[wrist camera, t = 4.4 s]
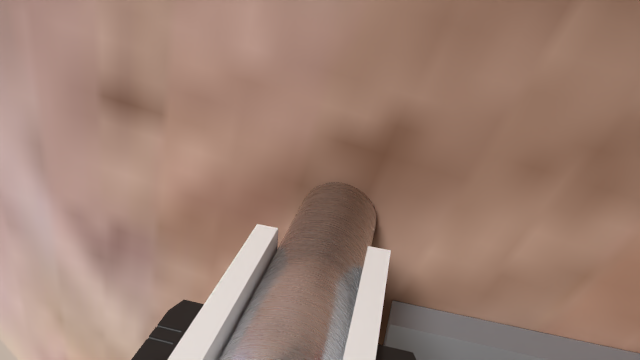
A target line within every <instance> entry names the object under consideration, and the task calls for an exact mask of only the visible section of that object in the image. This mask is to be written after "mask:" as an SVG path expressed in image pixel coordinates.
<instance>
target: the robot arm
mask: <svg viewBox="0 0 640 360" xmlns="http://www.w3.org/2000/svg"><path fill="white" fill-rule="evenodd" d="M277 245H278V228H275V227H270V226H264V225H259V224H257V225H256V227H255V228H254V230H253V231H252V233H251V234H250V236H249V237H248V239H247V240H246V242H245V243H244V245H243V246H242V248H241V249H240V251H239V252H238V254H237V255H236V257H235V258H234V260H233V261H232V263H231V264H230V266H229V267H228V269H227V270H226V272H225V273H224V275H223V277H222V278H221V280H220V281H219V283H218V284H217V286H216V287H215V289H214V290H213V292H212V293H211V295H210V296H209V298H208V299H207V301H206V302H205V304H200V303H196V302H192V301H187V300H183V301H181V302H180V303H179V304H177V305H176V306H174V307H173V308H171V309H170V310H168V312H167V313H166V314H165V316H164V317H163V318H162V320H161V321H160V322H159V324H158V326H157V328H155V329H154V330H153V332H152V333H151V334H150V336H149V338H148V339H147V340H146V341H145V342H144V344H143V345H142V346H141V348H140V349H139V350H138V352H137V353H136V354H135V356H134V357H133V358H132V360H219V358H220V356H221V354H222V353H223V351H224V349H225V347H226V345H227V343H228V341H229V339H230V338H231V336H232V334H233V332H234V330H235V328H236V326H237V324H238V323H239V321H240V319H241V317H242V315H243V313H244V311H245V309H246V308H247V306H248V304H249V302H250V300H251V298H252V296H253V294H254V293H255V291H256V289H257V287H258V285H259V283H260V281H261V280H262V278H263V276H264V274H265V272H266V270H267V268H268V266H269V265H270V263H271V261H272V259H273V257H274V255H275V253H276V251H277ZM390 253H391V250H386V249H381V248H376V247H371V246H368V248H367V253H366V257H365V262H364V266H363V271H362V275H361V280H360V284H359V289H358V293H357V298H356V302H355V307H354V311H353V316H352V320H351V325H350V329H349V334H348V338H347V343H346V347H345V352H344V356H343V360H416V358H415V356H414V353H413V352H409V351H405V350H401V349H396V348H392V347H388V346H384V345H379V344H378V338H379V331H380V324H381V317H382V310H383V303H384V295H385V288H386V281H387V274H388V267H389V260H390Z"/></svg>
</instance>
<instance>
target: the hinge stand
mask: <svg viewBox="0 0 640 360" xmlns="http://www.w3.org/2000/svg"><path fill="white" fill-rule="evenodd" d="M383 345H384V346H388V347H392V348H396V349H401V350H405V351H409V352H413V353H414V356H415V358H416V360H640V354H639V353H635V352H630V351H625V350H621V349H616V348H611V347H607V346H602V345H597V344H593V343H588V342H583V341H579V340H574V339H569V338H565V337H560V336H555V335H551V334H546V333H541V332H537V331H532V330H527V329H523V328H518V327H513V326H509V325H504V324H499V323H495V322H490V321H485V320H481V319H476V318H472V317H467V316H462V315H458V314H453V313H448V312H444V311H439V310H434V309H430V308H425V307H420V306H416V305H411V304H406V303H402V302H397V301H392V306H391V310H390V315H389V320H388V325H387V330H386V335H385V340H384V344H383Z"/></svg>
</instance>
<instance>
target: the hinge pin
mask: <svg viewBox="0 0 640 360" xmlns="http://www.w3.org/2000/svg"><path fill="white" fill-rule="evenodd" d="M375 226H376V213H375V209H374V207H373V205H372V203H371V201H370V200H369V198H368V197H367V196H366V195H365V194H364V193H362V192H361V191H360V190H358V189H357V188H355V187H353V186H350V185H347V184H343V183H326V184H322V185H320V186H317V187H316V188H314V189H313V190H311V191H310V192H309V193H308V194H307V196H306V197H305V199H304V201H303V203H302V205H301V206H300V208H299V210H298V212H297V214H296V216H295V218H294V220H293V221H292V223H291V225H290V227H289V229H288V231H287V233H286V235H285V236H284V238H283V240H282V242H281V244H280V246H279V248H278V250H277V251H276V253H275V255H274V257H273V259H272V261H271V263H270V265H269V266H268V268H267V270H266V272H265V274H264V276H263V278H262V280H261V281H260V283H259V285H258V287H257V289H256V291H255V293H254V294H253V296H252V298H251V300H250V302H249V304H248V306H247V308H246V309H245V311H244V313H243V315H242V317H241V319H240V321H239V323H238V324H237V326H236V328H235V330H234V332H233V334H232V336H231V338H230V339H229V341H228V343H227V345H226V347H225V349H224V351H223V353H222V354H221V356H220V358H219V360H343V356H344V352H345V347H346V343H347V338H348V334H349V329H350V325H351V320H352V316H353V311H354V307H355V302H356V298H357V293H358V289H359V284H360V280H361V275H362V271H363V266H364V262H365V257H366V253H367V248H368V246H371V245H372V240H373V235H374V231H375Z"/></svg>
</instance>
